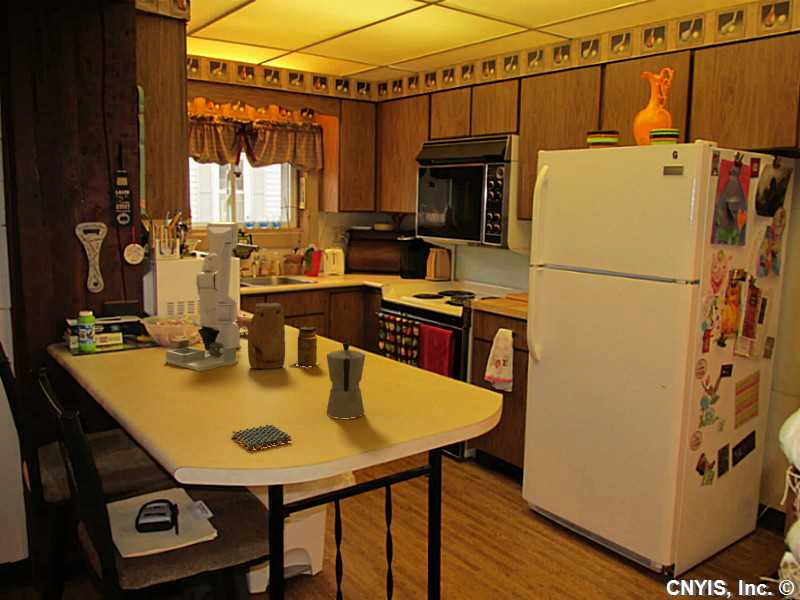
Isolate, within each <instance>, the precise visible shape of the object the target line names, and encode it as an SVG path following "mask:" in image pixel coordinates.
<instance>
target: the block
mask: <svg viewBox="0 0 800 600" xmlns="http://www.w3.org/2000/svg"><path fill="white" fill-rule="evenodd" d="M251 318H252V320H251V323H250V325H249V327H248V330H247V336H248V337H247V354H248V355H247V356H248V359H247V360H248V364H249V366H250V368H251V369H256V370H257V369H264V370H266V369H278V368H281V367H284V365H285V361H286V329H285V328H286V327H285V317H284V308H283V306H282V305H281V304H280V303H277V302H271V303H270V302H269V303H267V302H260V303H256V304H255V306H254V314H253V316H252V317H251Z"/></svg>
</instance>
